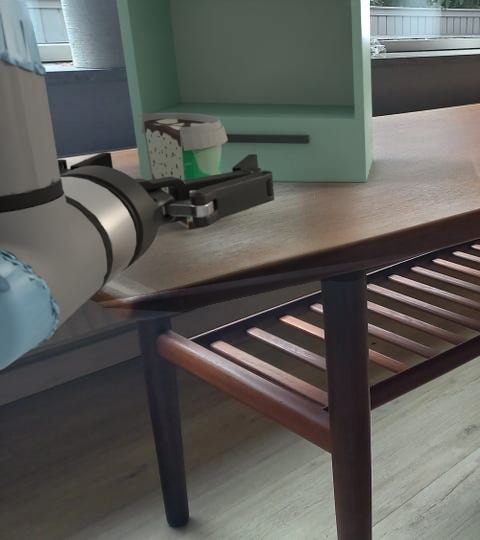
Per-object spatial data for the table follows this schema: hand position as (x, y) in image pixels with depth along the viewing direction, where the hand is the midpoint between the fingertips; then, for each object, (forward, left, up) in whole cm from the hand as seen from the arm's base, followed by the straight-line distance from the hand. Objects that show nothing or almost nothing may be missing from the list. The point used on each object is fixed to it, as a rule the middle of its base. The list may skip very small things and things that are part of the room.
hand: (182, 167), depth 67 cm
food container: (-1, +4, -6) cm, 8 cm away
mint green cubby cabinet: (-3, +28, -6) cm, 29 cm away
